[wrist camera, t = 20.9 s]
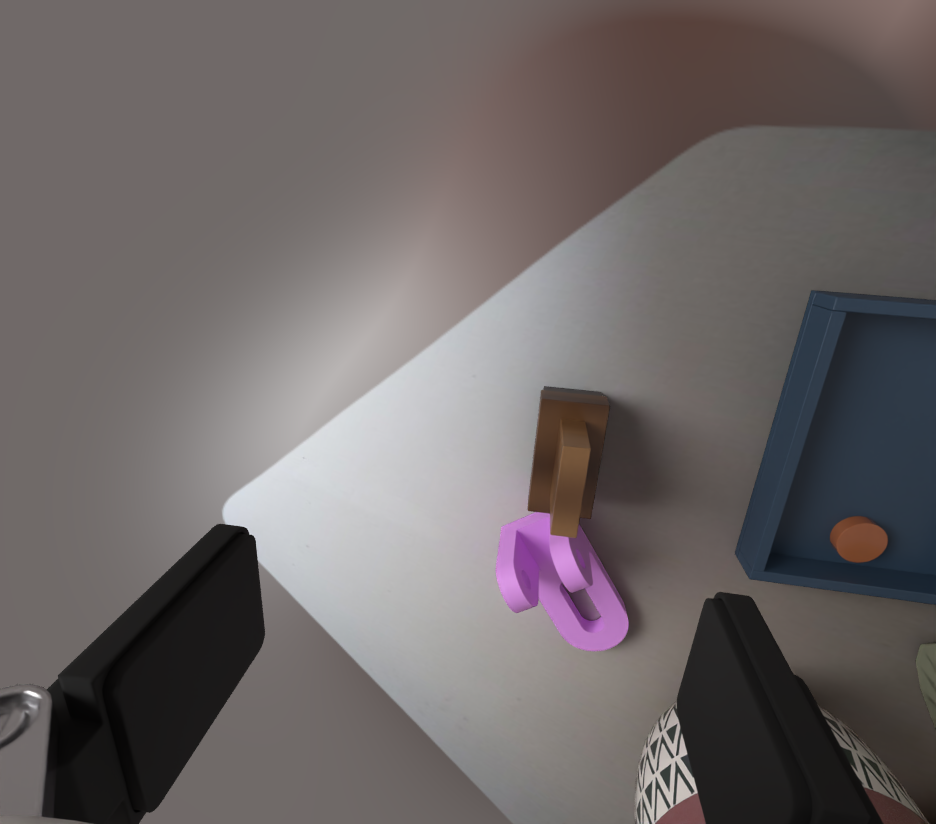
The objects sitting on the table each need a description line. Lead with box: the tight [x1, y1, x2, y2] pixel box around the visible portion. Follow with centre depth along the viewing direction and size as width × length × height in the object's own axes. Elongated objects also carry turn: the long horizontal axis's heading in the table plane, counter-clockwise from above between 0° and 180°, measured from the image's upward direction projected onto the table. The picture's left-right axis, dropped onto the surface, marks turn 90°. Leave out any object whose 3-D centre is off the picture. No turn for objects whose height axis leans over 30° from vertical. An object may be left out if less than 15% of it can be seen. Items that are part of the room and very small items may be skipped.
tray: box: [735, 290, 936, 605], centre depth 34 cm, size 20×15×3 cm
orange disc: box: [830, 516, 888, 563], centre depth 37 cm, size 3×3×1 cm
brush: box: [528, 386, 610, 538], centre depth 35 cm, size 8×4×8 cm, turn 176°
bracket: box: [496, 512, 629, 651], centre depth 39 cm, size 13×6×7 cm, turn 30°
